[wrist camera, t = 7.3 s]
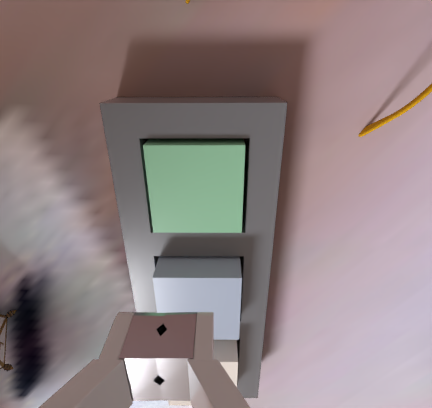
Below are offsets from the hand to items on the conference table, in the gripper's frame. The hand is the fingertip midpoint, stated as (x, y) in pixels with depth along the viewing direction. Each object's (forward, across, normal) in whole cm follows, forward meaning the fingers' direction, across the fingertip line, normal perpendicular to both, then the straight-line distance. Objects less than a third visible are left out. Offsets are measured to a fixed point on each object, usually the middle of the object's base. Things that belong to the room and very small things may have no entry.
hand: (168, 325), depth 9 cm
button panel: (+14, 0, -8) cm, 16 cm away
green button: (+13, 0, 0) cm, 13 cm away
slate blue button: (+12, 0, -8) cm, 14 cm away
